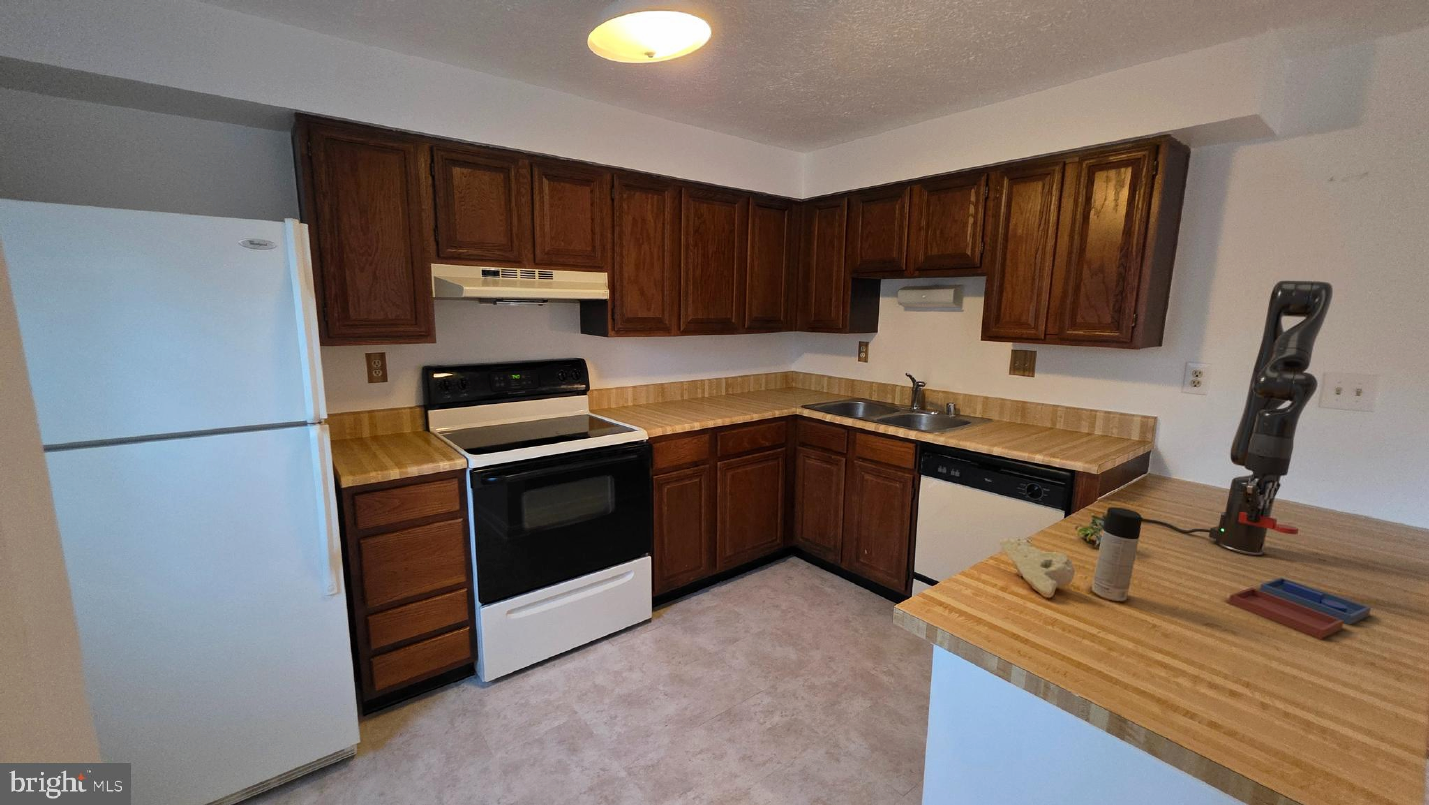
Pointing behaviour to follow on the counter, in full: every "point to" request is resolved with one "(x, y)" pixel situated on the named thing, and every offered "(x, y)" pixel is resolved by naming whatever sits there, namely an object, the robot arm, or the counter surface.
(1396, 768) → the counter surface
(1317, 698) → the counter surface
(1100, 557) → the spray can
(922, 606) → the counter surface
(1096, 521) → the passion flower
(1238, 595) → the red tray
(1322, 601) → the blue spoon
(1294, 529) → the red spoon
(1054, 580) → the bone fragment
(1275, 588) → the blue tray
